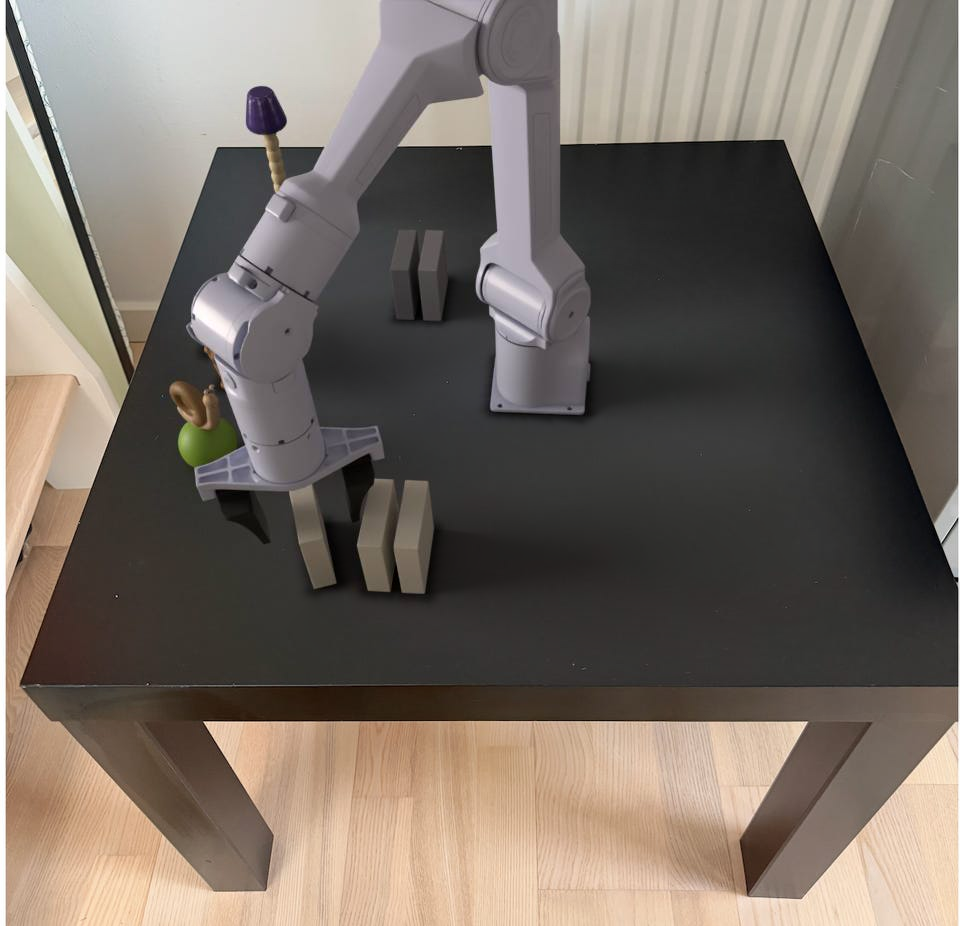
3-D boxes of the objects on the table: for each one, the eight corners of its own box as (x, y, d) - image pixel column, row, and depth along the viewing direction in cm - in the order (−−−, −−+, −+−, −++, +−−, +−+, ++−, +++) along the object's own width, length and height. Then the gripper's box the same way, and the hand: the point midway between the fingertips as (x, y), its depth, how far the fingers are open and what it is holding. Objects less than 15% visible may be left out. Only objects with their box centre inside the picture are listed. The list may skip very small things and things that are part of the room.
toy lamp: (314, 212, 114) (288, 86, 101) (290, 232, 112) (261, 105, 99) (285, 201, 116) (256, 76, 103) (261, 220, 114) (228, 94, 101)
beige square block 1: (401, 526, 83) (393, 479, 78) (390, 592, 79) (381, 547, 73) (380, 525, 83) (370, 478, 78) (367, 590, 79) (356, 545, 73)
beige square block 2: (434, 528, 83) (428, 480, 77) (424, 594, 78) (417, 548, 73) (412, 527, 83) (405, 479, 78) (401, 592, 79) (393, 547, 73)
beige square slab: (323, 521, 84) (310, 474, 78) (336, 583, 79) (323, 538, 74) (302, 526, 83) (287, 479, 78) (314, 589, 79) (299, 544, 74)
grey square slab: (422, 279, 105) (417, 229, 100) (414, 320, 101) (408, 270, 96) (405, 279, 105) (399, 229, 100) (396, 319, 101) (389, 269, 96)
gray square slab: (447, 280, 105) (444, 230, 100) (441, 321, 101) (436, 270, 95) (430, 280, 105) (426, 229, 100) (423, 320, 101) (417, 270, 95)
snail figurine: (224, 494, 86) (189, 408, 77) (175, 468, 88) (135, 381, 79) (262, 456, 89) (232, 369, 80) (213, 432, 91) (179, 344, 82)
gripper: (362, 360, 71) (382, 469, 81) (174, 401, 69) (220, 507, 79) (381, 424, 66) (400, 530, 77) (181, 470, 64) (228, 573, 75)
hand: (309, 523), depth 78 cm, fingers open, 7 cm apart
